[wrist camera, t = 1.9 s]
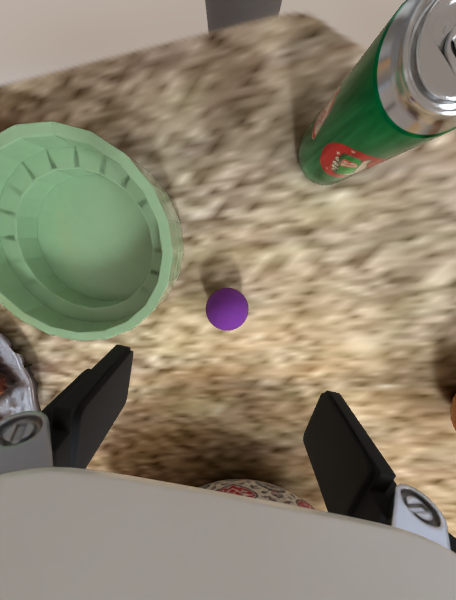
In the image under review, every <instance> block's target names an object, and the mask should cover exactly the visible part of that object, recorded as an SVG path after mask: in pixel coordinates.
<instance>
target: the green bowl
mask: <svg viewBox="0 0 456 600" xmlns="http://www.w3.org/2000/svg"><path fill="white" fill-rule="evenodd" d="M183 253H184V246H183V238H182V230H181V223H180V220H179V218H178V216H177V213H176V211H175V209H174V207H173V204H172V202H171V200H170V197H169V195H168V194H167V193H166V191H165V190H164V189H163V188H162V187H161V185H160V184H159V183H158V182H157V181H156V179H155V178H154V177H153V176H152V175H151V174H150V172H149V171H148V170H147V169H145V168H144V167H142V166H141V165H140V164H138V163H137V162H136V161H134V160H133V159H132V158H130V157H129V156H127V155H126V154H125V153H123V152H122V151H120V150H119V149H117V148H116V147H114V146H113V145H111V144H110V143H108V142H106V141H105V140H103V139H102V138H100V137H99V136H97V135H96V134H94V133H93V132H91V131H88V130H84V129H81V128H77V127H73V126H70V125H66V124H62V123H59V122H55V121H47V122H36V123H26V124H16V125H13V126H11V127H9V128H7V129H6V130H4V131H2V132H0V303H1V304H2V305H3V306H4V307H6V308H7V309H8V310H9V311H10V312H12V313H13V314H14V315H15V316H16V317H17V318H19V319H21V320H22V321H24V322H26V323H28V324H30V325H32V326H34V327H36V328H38V329H40V330H42V331H44V332H46V333H48V334H50V335H55V336H59V337H64V338H68V339H73V340H79V341H81V340H97V339H108V338H111V337H113V336H116V335H119V334H121V333H124V332H126V331H129V330H131V329H133V328H135V327H136V326H137V325H138V324H139V323H140V322H142V321H143V320H144V319H145V318H146V317H147V316H148V315H150V314H151V313H152V312H153V311H154V310H155V309H156V308H157V307H158V306H159V305H160V304H161V303H162V302H163V301H164V300H165V298H166V297H167V296H168V295H169V293H170V291H171V289H172V288H173V286H174V284H175V282H176V281H177V279H178V277H179V275H180V270H181V264H182V259H183Z"/></svg>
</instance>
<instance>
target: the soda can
mask: <svg viewBox="0 0 456 600" xmlns="http://www.w3.org/2000/svg"><path fill="white" fill-rule="evenodd" d="M455 128H456V0H406V1H405V2H404V3H403V4H402V5H401V6H400V7H399V9H398V10H397V11H396V13H395V14H394V15H393V17H392V18H391V19H390V21H389V22H388V23H387V25H386V26H385V27H384V28H383V30H382V31H381V32H380V34H379V35H378V36H377V38H376V39H375V40H374V42H373V43H372V44H371V46H370V47H369V48H368V50H367V51H366V52H365V54H364V55H363V56H362V57H361V59H360V60H359V61H358V63H357V64H356V65H355V67H354V68H353V69H352V71H351V72H350V73H349V75H348V76H347V77H346V79H345V80H344V81H343V83H342V84H341V85H340V86H339V88H338V89H337V90H336V92H335V93H334V94H333V96H332V97H331V98H330V100H329V101H328V102H327V104H326V105H325V106H324V108H323V109H322V110H321V112H320V113H319V114H318V115H317V117H316V118H315V119H314V121H313V122H312V123H311V125H310V126H309V127H308V129H307V130H306V131H305V133H304V135H303V137H302V139H301V142H300V146H299V163H300V166H301V169H302V171H303V173H304V174H305V176H306V177H307V178H308V179H309V180H311V181H312V182H314V183H317V184H321V185H330V184H334V183H337V182H339V181H341V180H344V179H346V178H348V177H350V176H352V175H355V174H357V173H359V172H361V171H364V170H366V169H368V168H370V167H372V166H375V165H377V164H379V163H381V162H383V161H386V160H388V159H390V158H392V157H395V156H397V155H399V154H401V153H403V152H406V151H408V150H410V149H412V148H414V147H417V146H419V145H421V144H423V143H425V142H428V141H430V140H432V139H434V138H437V137H439V136H441V135H443V134H445V133H447V132H450V131H452V130H454V129H455Z"/></svg>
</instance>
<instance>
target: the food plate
mask: <svg viewBox="0 0 456 600" xmlns="http://www.w3.org/2000/svg"><path fill="white" fill-rule="evenodd" d="M12 345H13V344H12V343H11V341H10V340H9V339H7V338H6V337H4V336H3V335H2V334H1V333H0V420H2V419H4V418H6V417H8V416H10V415H13V414H16V413H19V412H24V411H38V412H41V409H40V406H39V402H38V396H37V389H38V386H37V385H38V384H37V382H36V380H35V379H34V377H33V376H34V374H32V373H31V371H30V369H28V368H29V366H30V365H32V364H29V365H28V367H27V368H26V369H25V367H24V366H23V365H24V363H25V359H24V357H23V356H22V355H20V354H18V353H15V352H13V350H12V349H11V346H12Z"/></svg>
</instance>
